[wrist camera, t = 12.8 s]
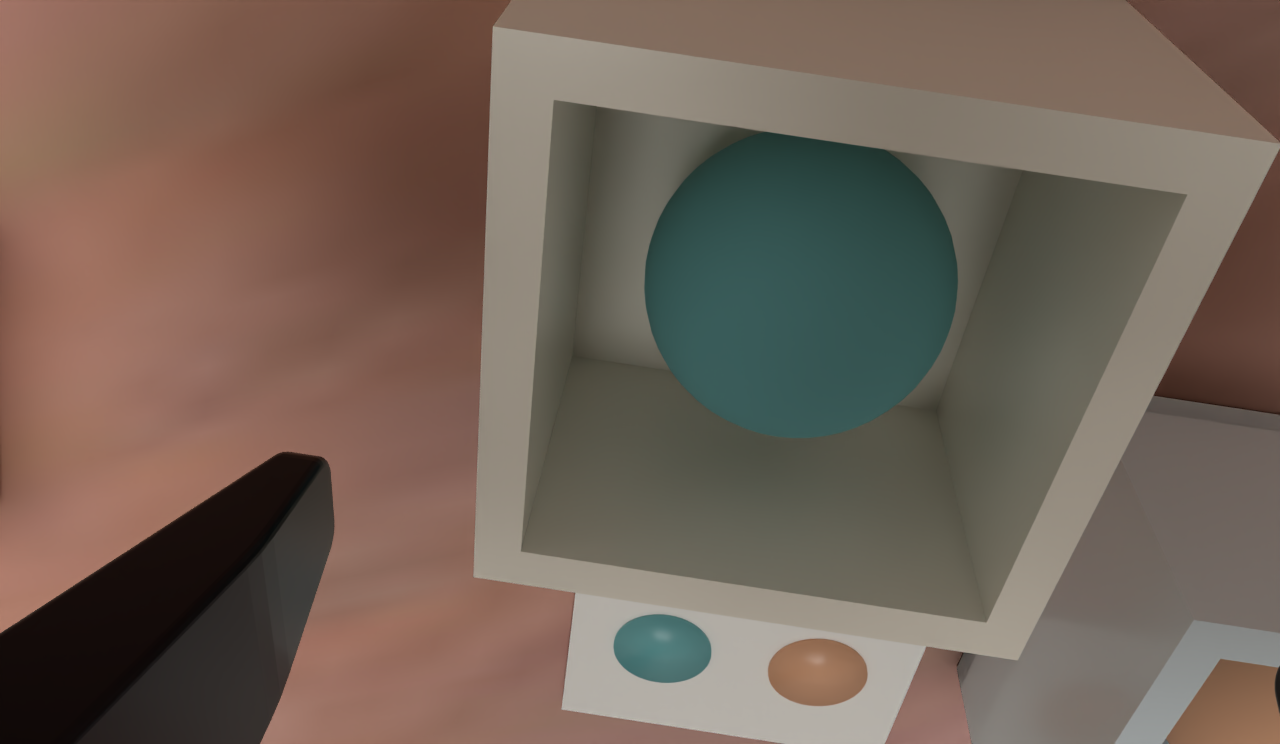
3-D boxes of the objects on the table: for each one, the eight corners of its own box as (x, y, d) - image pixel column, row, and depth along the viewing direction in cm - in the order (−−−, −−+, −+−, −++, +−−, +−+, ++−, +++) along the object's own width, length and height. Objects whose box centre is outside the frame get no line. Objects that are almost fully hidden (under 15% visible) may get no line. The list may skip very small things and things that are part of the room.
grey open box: (1306, 722, 21) (1441, 980, 17) (956, 668, 21) (1005, 913, 17) (1525, 452, 17) (1774, 708, 13) (1087, 386, 17) (1193, 620, 13)
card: (877, 746, 23) (879, 761, 22) (563, 698, 23) (561, 712, 22) (942, 591, 20) (945, 605, 19) (582, 535, 20) (579, 549, 19)
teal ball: (892, 349, 16) (929, 524, 13) (641, 312, 16) (613, 477, 13) (968, 105, 14) (1036, 241, 11) (675, 62, 14) (653, 186, 11)
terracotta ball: (1273, 675, 20) (1408, 875, 16) (1073, 660, 19) (1168, 861, 16) (1380, 518, 17) (1560, 711, 14) (1156, 498, 17) (1286, 691, 14)
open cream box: (956, 425, 17) (1017, 660, 13) (539, 363, 18) (472, 577, 13) (1120, -5, 13) (1282, 144, 9) (573, -86, 13) (493, 26, 9)
